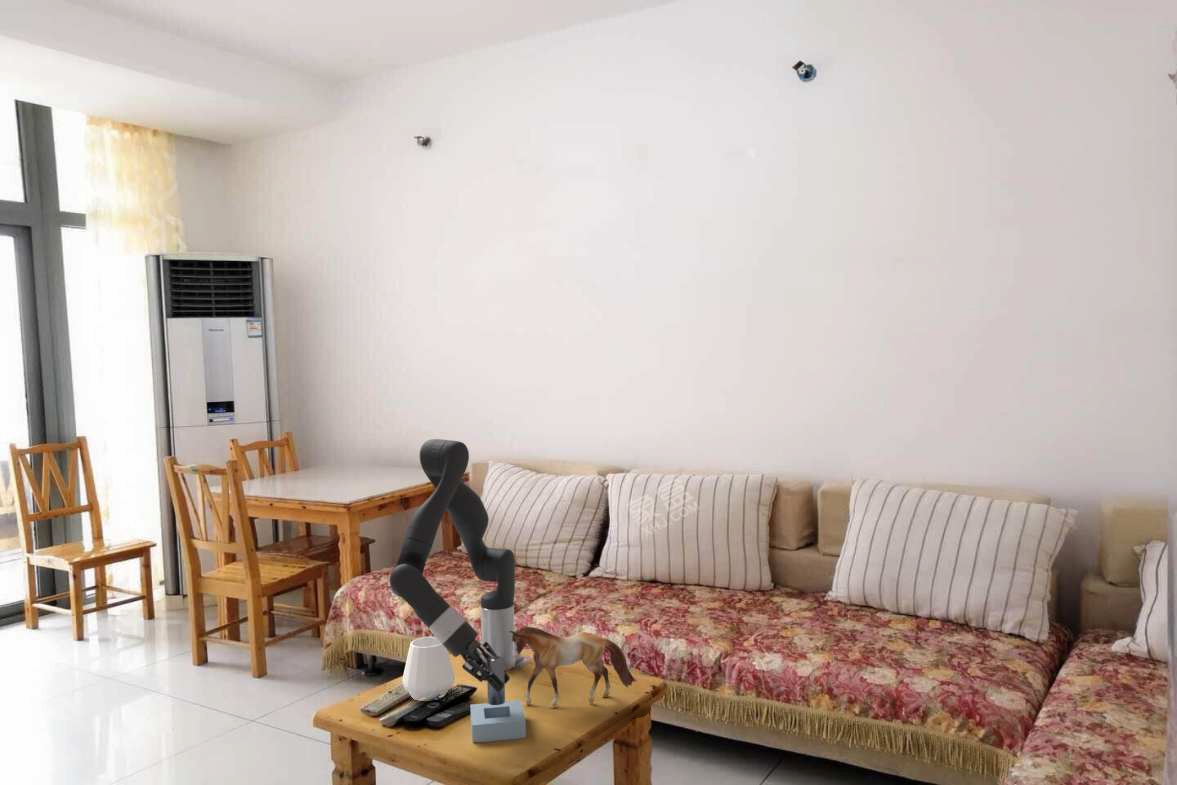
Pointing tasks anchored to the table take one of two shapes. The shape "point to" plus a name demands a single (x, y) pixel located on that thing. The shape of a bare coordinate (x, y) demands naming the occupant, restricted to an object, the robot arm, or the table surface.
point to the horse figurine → (570, 656)
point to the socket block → (497, 721)
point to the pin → (498, 669)
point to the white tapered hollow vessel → (427, 668)
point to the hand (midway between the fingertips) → (504, 684)
